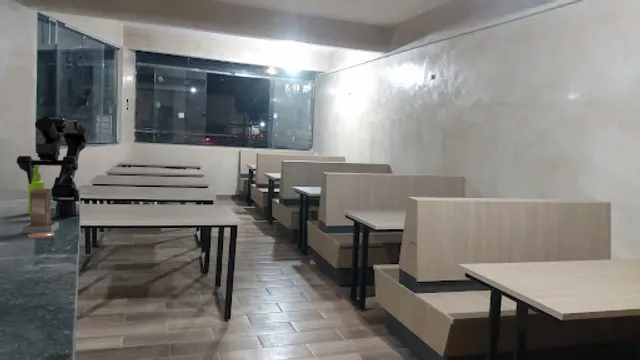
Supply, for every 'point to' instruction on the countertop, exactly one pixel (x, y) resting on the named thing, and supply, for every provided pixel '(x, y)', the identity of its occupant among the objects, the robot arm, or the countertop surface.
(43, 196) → the walnut box
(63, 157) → the robot arm
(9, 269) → the countertop surface
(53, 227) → the gray tray
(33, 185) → the soap dispenser
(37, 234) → the brown curved piece
